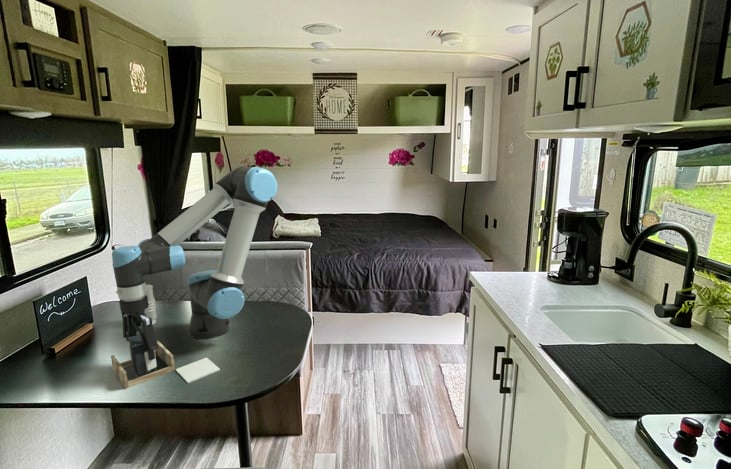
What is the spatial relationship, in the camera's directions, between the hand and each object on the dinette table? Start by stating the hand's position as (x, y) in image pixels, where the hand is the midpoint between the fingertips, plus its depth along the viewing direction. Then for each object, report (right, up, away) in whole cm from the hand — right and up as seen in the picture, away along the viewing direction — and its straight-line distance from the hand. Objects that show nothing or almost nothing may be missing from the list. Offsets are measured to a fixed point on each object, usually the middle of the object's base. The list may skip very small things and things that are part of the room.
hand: (143, 363), depth 126 cm
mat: (+17, -2, 0) cm, 17 cm away
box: (0, -2, 0) cm, 2 cm away
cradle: (0, -2, 0) cm, 2 cm away
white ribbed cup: (-17, +5, +34) cm, 38 cm away
